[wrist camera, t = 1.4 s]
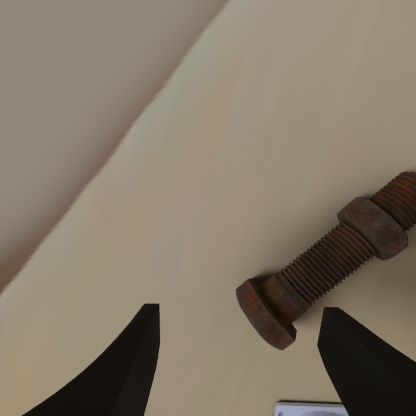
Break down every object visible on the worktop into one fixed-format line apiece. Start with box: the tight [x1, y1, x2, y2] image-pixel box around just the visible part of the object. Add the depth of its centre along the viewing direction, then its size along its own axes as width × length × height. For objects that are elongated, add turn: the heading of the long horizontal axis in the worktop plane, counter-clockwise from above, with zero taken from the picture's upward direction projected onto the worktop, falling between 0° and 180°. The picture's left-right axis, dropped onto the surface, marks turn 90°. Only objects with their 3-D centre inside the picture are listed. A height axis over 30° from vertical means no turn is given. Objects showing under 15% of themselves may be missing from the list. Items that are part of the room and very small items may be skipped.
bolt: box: [236, 172, 416, 350], centre depth 20 cm, size 6×5×15 cm
